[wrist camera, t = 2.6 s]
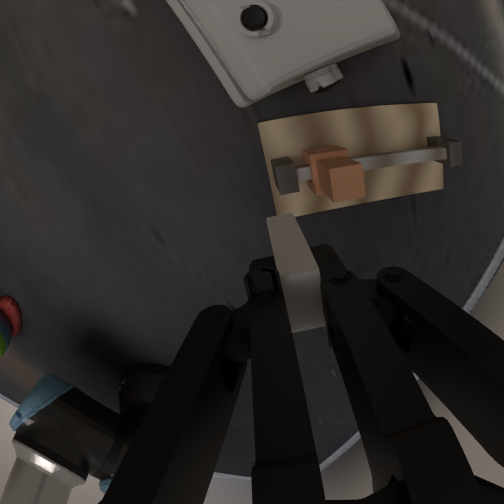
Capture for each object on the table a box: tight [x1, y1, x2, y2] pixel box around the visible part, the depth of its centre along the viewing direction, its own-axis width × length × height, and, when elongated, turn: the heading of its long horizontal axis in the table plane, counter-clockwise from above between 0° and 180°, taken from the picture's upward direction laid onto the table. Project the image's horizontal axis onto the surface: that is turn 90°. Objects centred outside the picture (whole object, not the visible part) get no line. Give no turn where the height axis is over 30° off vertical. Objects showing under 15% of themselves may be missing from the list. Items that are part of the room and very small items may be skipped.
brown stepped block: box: [302, 145, 366, 203], centre depth 29 cm, size 4×4×9 cm
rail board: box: [257, 103, 462, 217], centre depth 33 cm, size 24×12×6 cm, turn 102°
